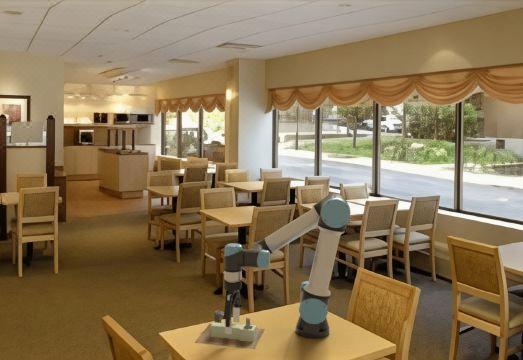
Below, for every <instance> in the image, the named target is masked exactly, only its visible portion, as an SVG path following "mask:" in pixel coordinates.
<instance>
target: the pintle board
mask: <svg viewBox="0 0 523 360" xmlns="http://www.w3.org/2000/svg"><path fill="white" fill-rule="evenodd" d="M223 317H224V311H222V310H217V309H216V310H215V311H214V322H216V323H222V318H223ZM212 324H213V323H209V324H208V325H207V327H205V328H204V330H203V331H202V333H200V335H199V336H198V337H197V338H196V340H195V341H194V343H195V344H205V345H213V346H222V347H234V348H241V349H251V350H252V349H253V350H255V349H256V347H257V345H258V343H259V341H260V339H261V338H262V336H263V334H264V331H265V330H266V328H259V327H256V338H255V340H254V342H249V341H240V340H239V339H229V338H219V337H211V325H212ZM245 324H246V329H250V325H251V318H250V317H246V318H245Z"/></svg>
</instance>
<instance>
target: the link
mask: <svg viewBox="0 0 523 360" xmlns="http://www.w3.org/2000/svg"><path fill="white" fill-rule="evenodd" d="M211 324H212V325H211V337H219V338H229V339H239V340H240V341H249V342H254V340H255V338H256V328H257V325H256V324H250V329H246V323H243V324H237V323H232V334H225V322H221V323H216V322H215V321H213V322H212V323H211Z"/></svg>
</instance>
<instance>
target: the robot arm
mask: <svg viewBox="0 0 523 360" xmlns="http://www.w3.org/2000/svg"><path fill="white" fill-rule="evenodd" d="M350 217H351V208H350V205H349V204H348V201H347V199H346V198H345V197H344V196H343V195H341V194H338V193H330V194H328V195H326V196H324V197H323V198H322V199H321V200H319V201H318V202H317V203H315V204H313V205H312V208H311V209H310V210H308V211H306V212H305V213H303V214H301V215H300V216H298V217H296V219H293V220H292V221H291V222H289V223H287V224H285V225H284V226H282V227H280V228H279V229H277V230H276V231H274V232H272V233H271V234H269V235H267V236H266V237H265V238H263V239H261V240H258V241H256V242H254V243H253V244H252V246H251V248H250V249H245V248H243V245H242V244H240V243H235V242H233V243H227V244H226V245H224V254H223V262H224V263H223V265H224V266H223V272H222V273H223V275H224V276H223V279H224V281H223V289H224V290H226V291H228V292H227V294H225V303H224V311H223V312H224V317H222V319H223V320H224V323H225V334H232V324H233V323H240V318H241V317H240V310H241V309H240V308H242V301H241V299H242V298H241V294H240V293H241V292H240V291H241V289H242V284H243V283H242V278H243V275H242V274H243V273H242V272H243V268H257V269H258V268H259V269H268V268H269V267H270V263H271V255H272V254H274V253H275V252H277V251H278V250H280V249H282V248H283V247H286V246H287V245H288V244H290V243H291V242H293V241H295V240H297V239H298V238H300V237H301V236H304V234H307V233H308V232H310V231H312V230H313V229H315V228H316V227H318V229H319V234H318V238H317V242H316V248H315V251H314V257H313V262H312V265H311V269H310V274H309V278H308V280H306V281H302V282H301V284H300V288H299V289H300V298H299V306H298V312H299V316H298V319H297V322H296V325H295V333H296V334H297V335H299V336H301V337H304V338H308V339H321V338H325V337H328V336H329V335H330V325H329V322H328V318H327V316H328V313H329V311H328V310H329V309H328V307H329V303H330V298H331V295H332V293H331V291H330V290H329V287H330V282H331V277H332V275H333V268H334V266H335V265H334V264H335V260H336V255H337V250H338V247H339V242H340V239H341V235H342V234H344V233H346V229H347V225H348V222H349V219H350ZM232 314H233V315H232ZM232 322H233V323H232Z"/></svg>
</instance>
